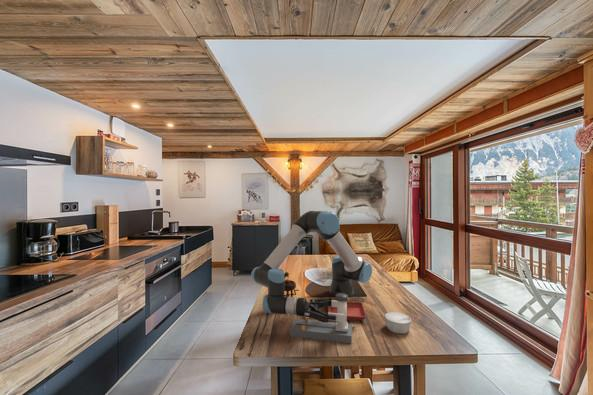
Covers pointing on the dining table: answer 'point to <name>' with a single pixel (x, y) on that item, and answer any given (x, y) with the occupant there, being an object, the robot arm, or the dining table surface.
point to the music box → (289, 286)
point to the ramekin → (398, 322)
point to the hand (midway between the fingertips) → (345, 311)
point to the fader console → (319, 331)
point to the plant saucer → (352, 311)
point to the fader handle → (342, 311)
